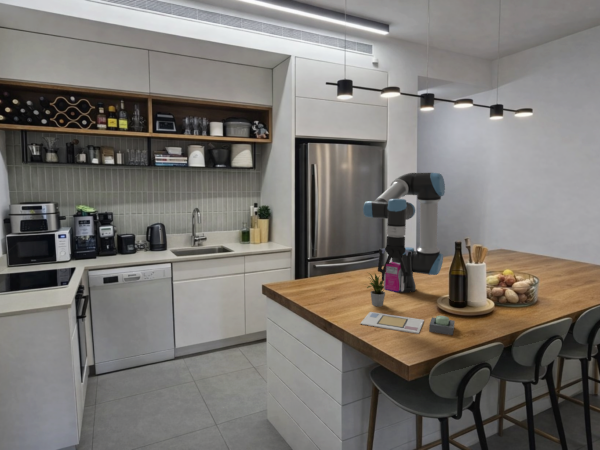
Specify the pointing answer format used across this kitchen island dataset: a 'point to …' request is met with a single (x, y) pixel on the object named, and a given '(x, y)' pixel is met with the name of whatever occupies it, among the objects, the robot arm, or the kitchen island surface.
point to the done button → (442, 320)
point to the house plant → (377, 291)
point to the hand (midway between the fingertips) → (393, 289)
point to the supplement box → (393, 277)
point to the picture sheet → (393, 322)
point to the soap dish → (441, 327)
